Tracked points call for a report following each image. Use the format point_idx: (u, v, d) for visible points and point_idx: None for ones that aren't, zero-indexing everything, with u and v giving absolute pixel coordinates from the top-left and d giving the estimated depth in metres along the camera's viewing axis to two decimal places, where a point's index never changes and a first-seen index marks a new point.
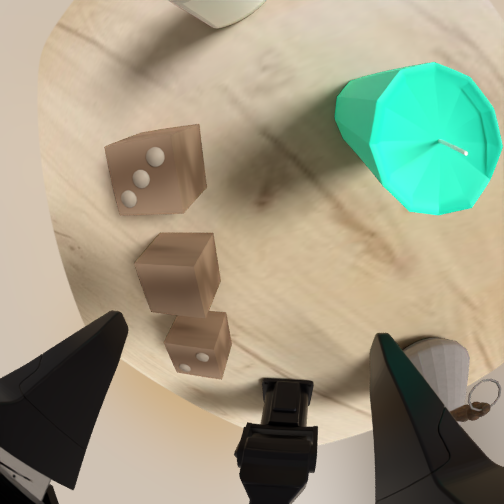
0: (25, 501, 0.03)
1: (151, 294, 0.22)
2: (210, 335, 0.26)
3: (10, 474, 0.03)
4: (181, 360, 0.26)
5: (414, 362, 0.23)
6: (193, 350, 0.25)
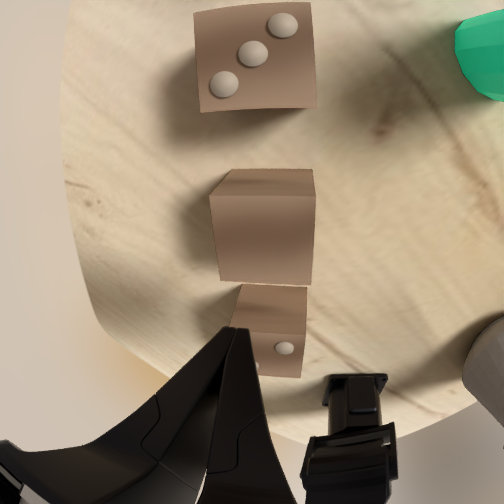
0: None
1: (227, 250, 0.15)
2: (295, 316, 0.19)
3: None
4: None
5: None
6: (273, 338, 0.18)
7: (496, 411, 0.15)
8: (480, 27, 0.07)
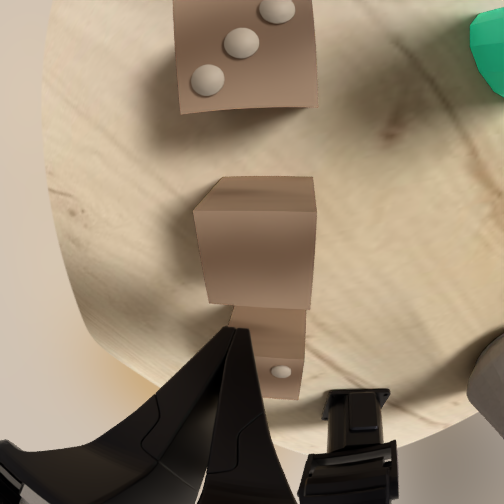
0: None
1: (215, 271, 0.13)
2: (293, 338, 0.17)
3: None
4: None
5: None
6: (268, 362, 0.16)
7: (501, 427, 0.13)
8: (500, 21, 0.05)
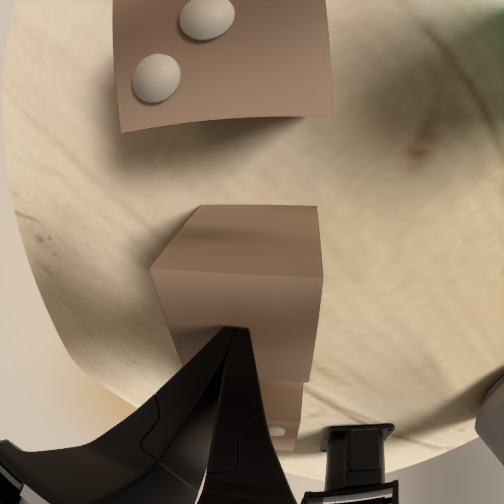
0: None
1: (187, 338, 0.10)
2: (288, 394, 0.13)
3: None
4: None
5: None
6: None
7: None
8: None
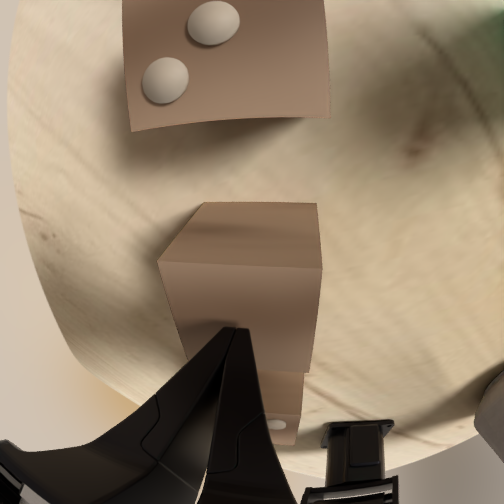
0: None
1: (192, 329, 0.10)
2: (289, 388, 0.14)
3: None
4: None
5: None
6: None
7: None
8: None
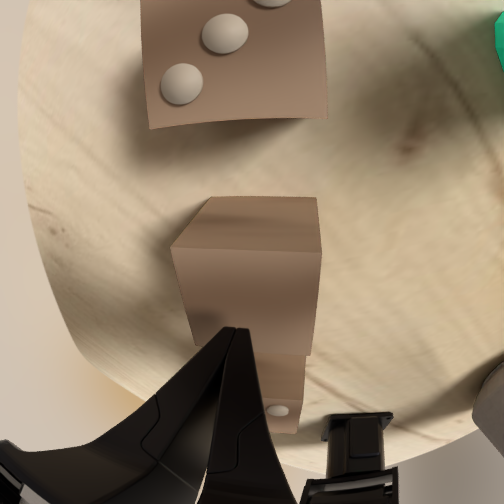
0: None
1: (200, 314, 0.11)
2: (291, 375, 0.15)
3: None
4: None
5: None
6: (263, 401, 0.14)
7: None
8: None
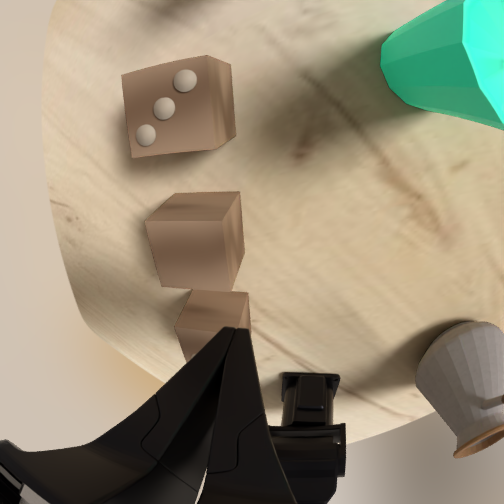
0: None
1: (163, 262, 0.18)
2: (231, 318, 0.22)
3: None
4: (194, 349, 0.22)
5: (455, 346, 0.20)
6: (210, 335, 0.21)
7: (446, 418, 0.18)
8: (397, 39, 0.10)
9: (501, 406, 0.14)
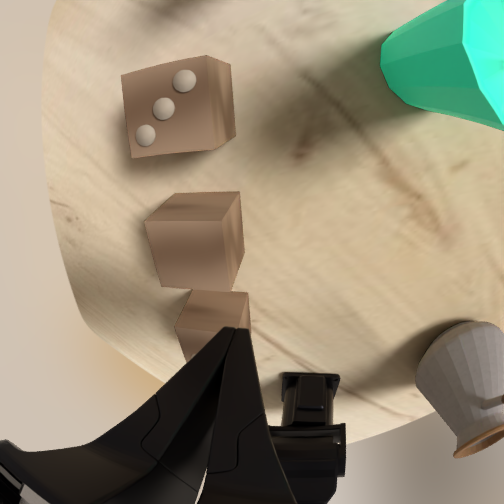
0: None
1: (162, 262, 0.18)
2: (231, 318, 0.22)
3: None
4: (194, 349, 0.22)
5: (455, 346, 0.20)
6: (210, 335, 0.21)
7: (446, 418, 0.18)
8: (396, 39, 0.10)
9: (501, 406, 0.14)
